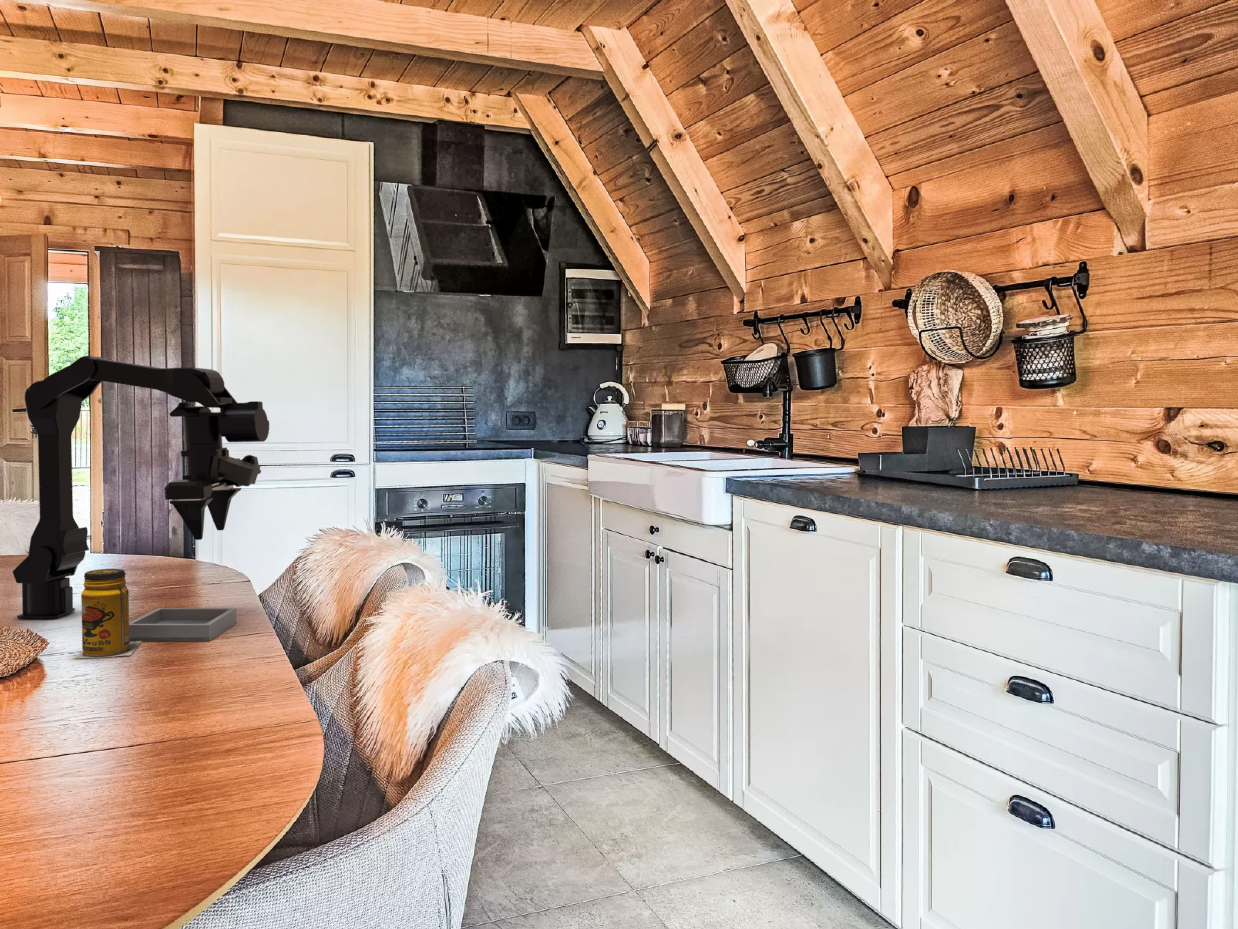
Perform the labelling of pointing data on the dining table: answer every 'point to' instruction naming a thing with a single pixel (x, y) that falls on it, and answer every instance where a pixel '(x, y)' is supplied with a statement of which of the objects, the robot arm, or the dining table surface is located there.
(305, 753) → the dining table surface
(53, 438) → the robot arm
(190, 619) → the tray
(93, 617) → the condiment
